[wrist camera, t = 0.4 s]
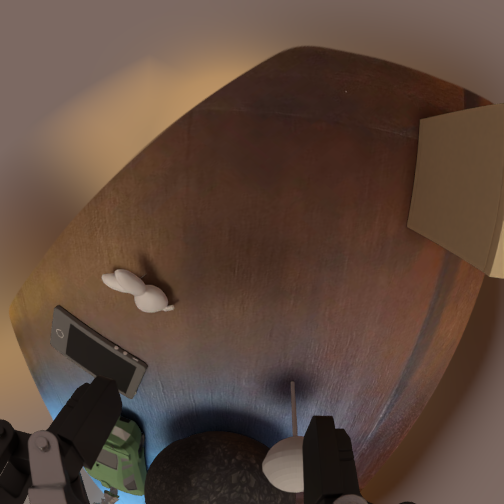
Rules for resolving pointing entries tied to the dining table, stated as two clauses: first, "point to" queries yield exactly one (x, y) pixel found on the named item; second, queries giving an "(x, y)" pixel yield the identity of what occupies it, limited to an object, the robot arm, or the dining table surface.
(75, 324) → the smartphone
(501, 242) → the lid
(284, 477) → the lollipop
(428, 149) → the chest
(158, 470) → the decorative sphere
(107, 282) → the rabbit figurine
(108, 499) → the figurine
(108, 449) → the toy car
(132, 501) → the dining table surface
